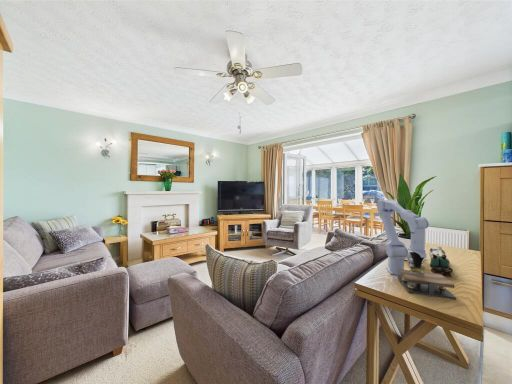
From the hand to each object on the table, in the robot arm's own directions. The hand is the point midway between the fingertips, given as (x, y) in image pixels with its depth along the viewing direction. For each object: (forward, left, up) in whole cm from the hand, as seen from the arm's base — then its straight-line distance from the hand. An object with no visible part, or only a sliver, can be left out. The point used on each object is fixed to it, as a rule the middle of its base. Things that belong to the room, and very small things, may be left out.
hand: (417, 267), depth 104 cm
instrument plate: (+3, +2, -5) cm, 6 cm away
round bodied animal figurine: (-29, +8, -10) cm, 32 cm away
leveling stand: (+3, +2, -9) cm, 10 cm away
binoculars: (-20, +19, -10) cm, 29 cm away
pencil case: (-36, +24, -10) cm, 44 cm away
